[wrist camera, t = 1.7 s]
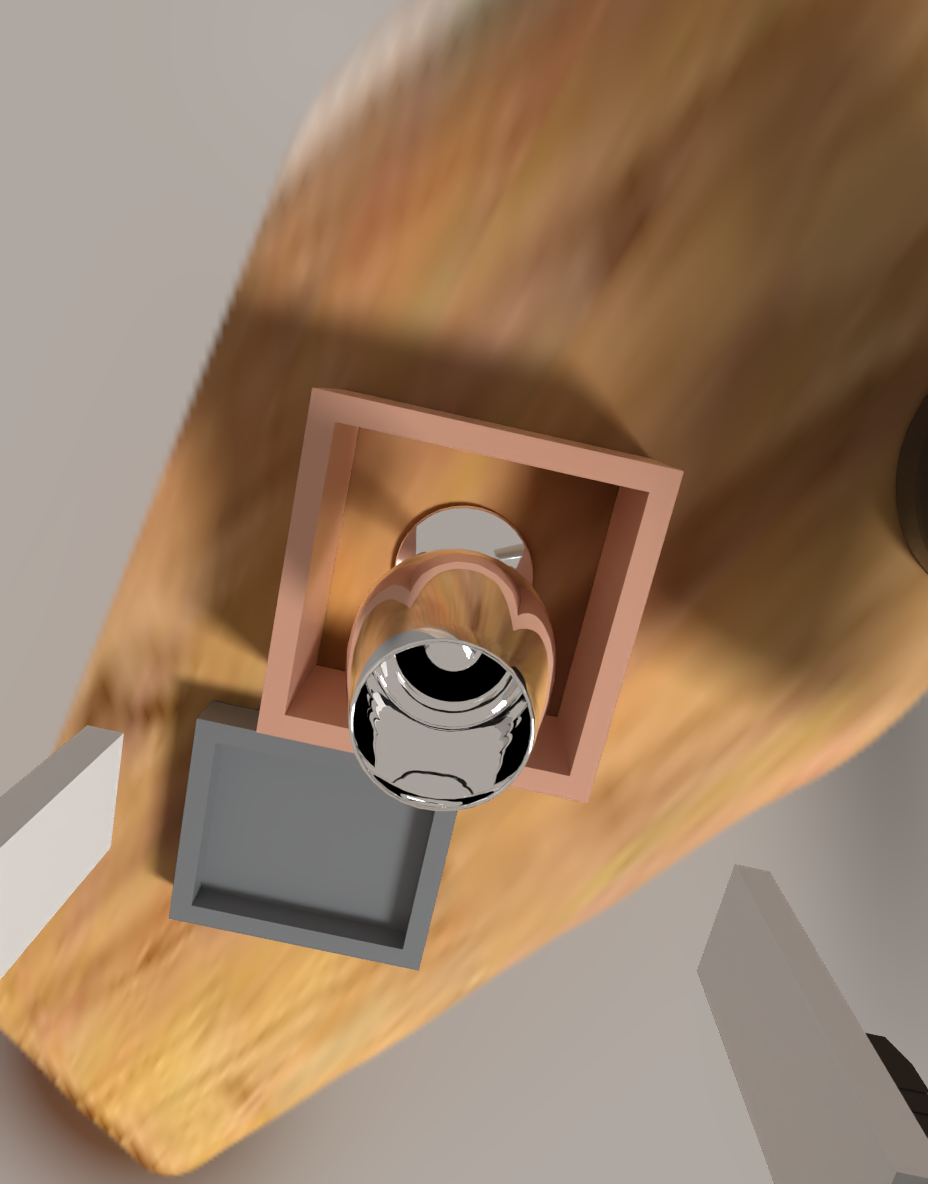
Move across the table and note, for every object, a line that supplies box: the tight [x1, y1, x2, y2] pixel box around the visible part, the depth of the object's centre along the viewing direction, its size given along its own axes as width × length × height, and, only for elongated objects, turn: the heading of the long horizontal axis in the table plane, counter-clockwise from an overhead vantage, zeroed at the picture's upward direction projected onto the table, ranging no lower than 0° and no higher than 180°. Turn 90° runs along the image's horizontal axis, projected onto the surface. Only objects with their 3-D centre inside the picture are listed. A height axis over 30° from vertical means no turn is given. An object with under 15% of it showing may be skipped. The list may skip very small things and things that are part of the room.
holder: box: [256, 388, 684, 803], centre depth 38 cm, size 16×16×7 cm
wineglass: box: [345, 505, 556, 811], centre depth 32 cm, size 8×8×20 cm
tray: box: [169, 701, 457, 971], centre depth 45 cm, size 15×13×2 cm
